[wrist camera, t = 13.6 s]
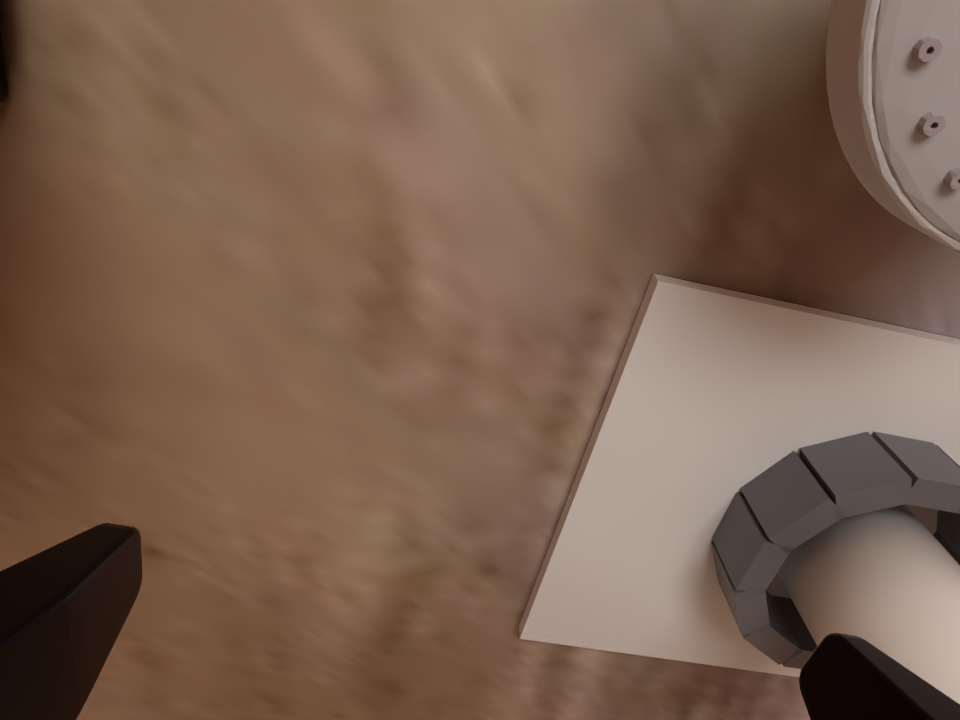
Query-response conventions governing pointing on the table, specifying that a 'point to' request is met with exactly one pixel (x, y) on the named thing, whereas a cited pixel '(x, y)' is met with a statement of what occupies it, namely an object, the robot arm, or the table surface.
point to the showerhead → (900, 106)
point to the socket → (741, 473)
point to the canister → (883, 591)
